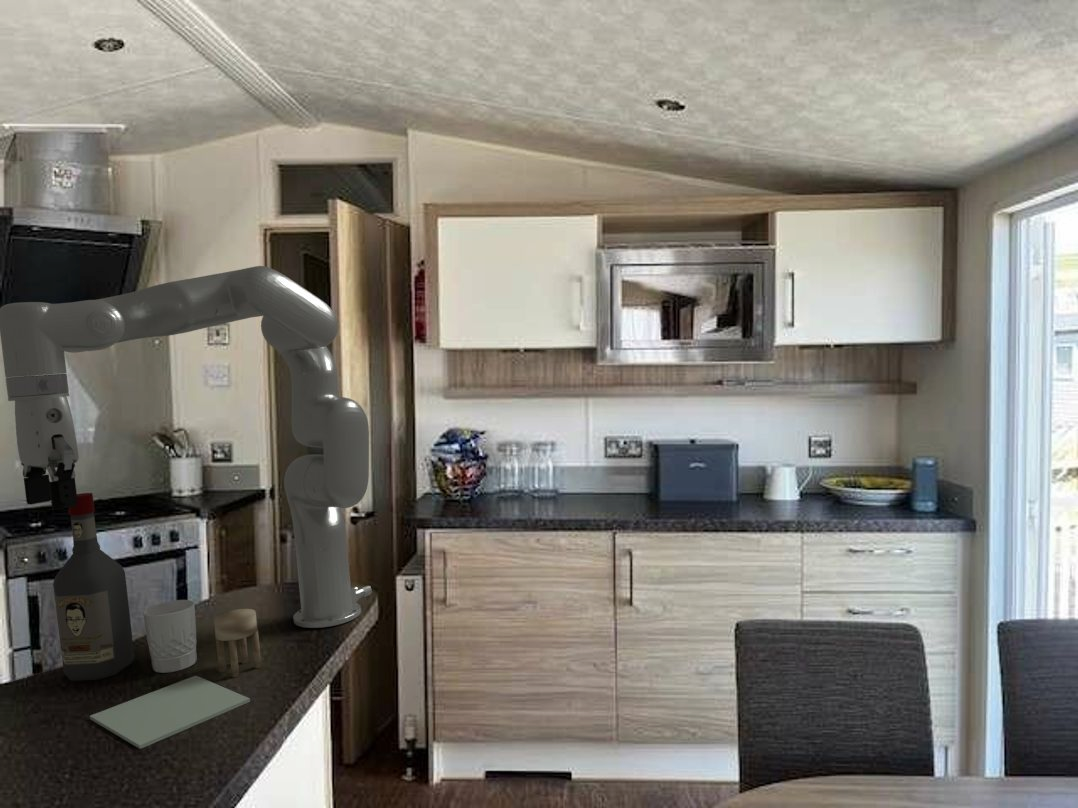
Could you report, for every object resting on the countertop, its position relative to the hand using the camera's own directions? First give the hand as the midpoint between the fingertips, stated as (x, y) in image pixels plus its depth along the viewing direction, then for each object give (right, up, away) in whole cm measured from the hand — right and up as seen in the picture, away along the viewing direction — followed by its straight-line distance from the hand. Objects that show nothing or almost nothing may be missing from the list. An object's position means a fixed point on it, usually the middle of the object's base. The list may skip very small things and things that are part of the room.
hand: (51, 505), depth 116 cm
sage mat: (+17, -30, 0) cm, 35 cm away
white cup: (+10, -30, +18) cm, 36 cm away
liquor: (-3, -30, +18) cm, 36 cm away
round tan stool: (+22, -29, +14) cm, 39 cm away
